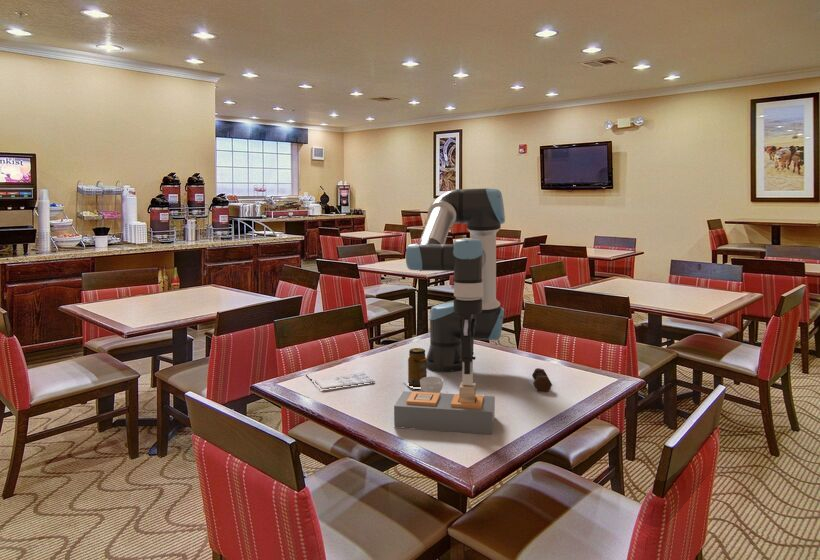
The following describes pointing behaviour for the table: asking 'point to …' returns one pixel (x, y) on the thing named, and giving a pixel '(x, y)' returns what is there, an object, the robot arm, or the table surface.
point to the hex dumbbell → (541, 380)
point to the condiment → (416, 366)
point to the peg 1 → (423, 397)
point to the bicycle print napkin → (353, 380)
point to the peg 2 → (467, 393)
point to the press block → (445, 413)
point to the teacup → (432, 385)
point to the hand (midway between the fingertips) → (467, 384)
